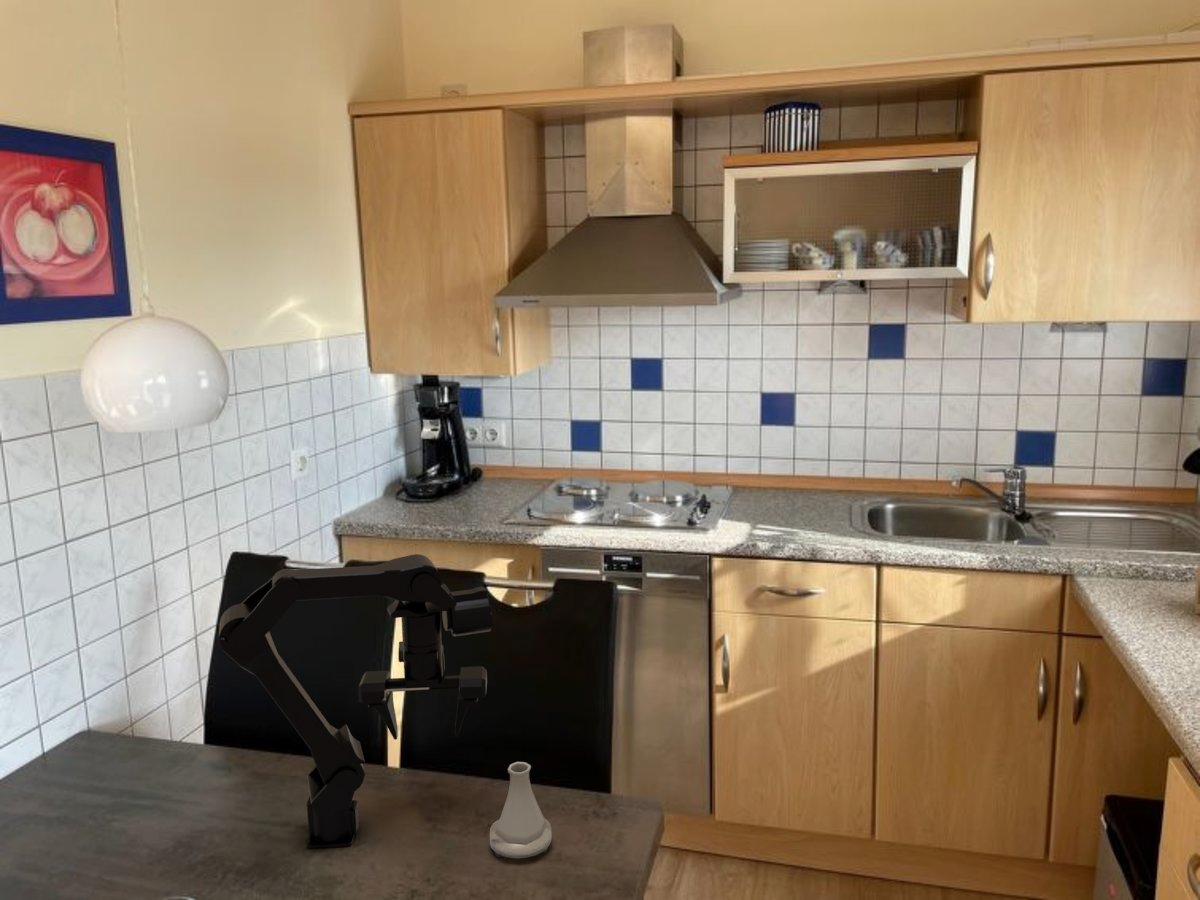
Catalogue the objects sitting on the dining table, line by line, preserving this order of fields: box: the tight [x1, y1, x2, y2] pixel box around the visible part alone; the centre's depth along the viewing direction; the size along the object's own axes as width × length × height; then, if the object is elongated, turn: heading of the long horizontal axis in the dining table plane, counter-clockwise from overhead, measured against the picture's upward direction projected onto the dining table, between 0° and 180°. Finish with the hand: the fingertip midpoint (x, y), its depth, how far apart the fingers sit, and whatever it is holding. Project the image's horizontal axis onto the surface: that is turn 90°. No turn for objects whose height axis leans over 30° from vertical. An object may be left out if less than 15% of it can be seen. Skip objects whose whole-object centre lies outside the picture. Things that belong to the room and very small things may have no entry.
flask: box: [495, 761, 546, 844], centre depth 133 cm, size 7×7×10 cm
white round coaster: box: [489, 817, 553, 859], centre depth 134 cm, size 9×9×2 cm
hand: (426, 736), depth 140 cm, fingers open, 9 cm apart
